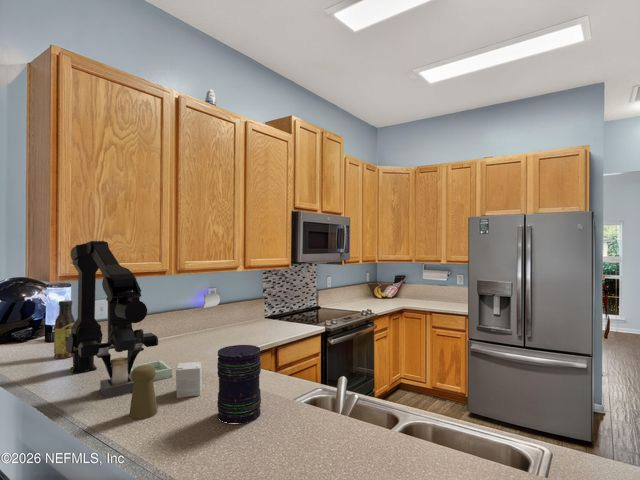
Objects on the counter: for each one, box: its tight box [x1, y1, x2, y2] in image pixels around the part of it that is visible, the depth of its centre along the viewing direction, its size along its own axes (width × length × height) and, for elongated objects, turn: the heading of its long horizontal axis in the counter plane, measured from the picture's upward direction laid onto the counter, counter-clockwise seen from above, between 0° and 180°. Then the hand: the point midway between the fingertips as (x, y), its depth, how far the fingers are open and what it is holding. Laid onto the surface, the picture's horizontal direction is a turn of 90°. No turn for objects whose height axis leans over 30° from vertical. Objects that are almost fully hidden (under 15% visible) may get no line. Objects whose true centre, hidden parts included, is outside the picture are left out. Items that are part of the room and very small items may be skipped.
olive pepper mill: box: [128, 365, 158, 421], centre depth 90 cm, size 6×6×11 cm
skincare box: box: [175, 361, 203, 399], centre depth 103 cm, size 6×6×7 cm
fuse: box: [111, 356, 128, 386], centre depth 105 cm, size 4×4×8 cm
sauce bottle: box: [53, 299, 76, 360], centre depth 138 cm, size 7×6×20 cm
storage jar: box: [216, 344, 262, 424], centre depth 89 cm, size 10×10×15 cm
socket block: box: [99, 374, 134, 399], centre depth 105 cm, size 8×8×2 cm
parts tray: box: [129, 359, 173, 382], centre depth 116 cm, size 11×10×2 cm
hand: (119, 375), depth 105 cm, fingers closed on fuse, 4 cm apart
